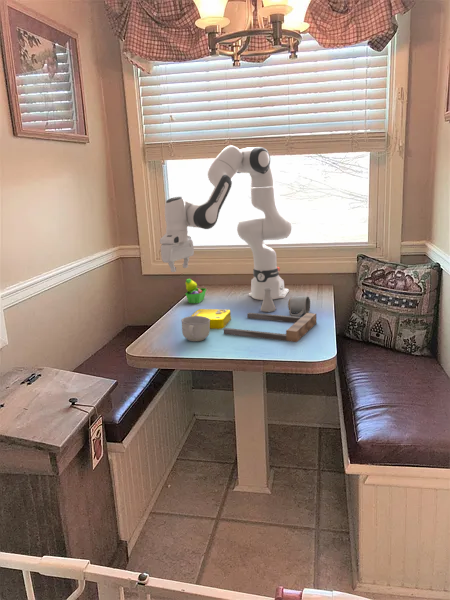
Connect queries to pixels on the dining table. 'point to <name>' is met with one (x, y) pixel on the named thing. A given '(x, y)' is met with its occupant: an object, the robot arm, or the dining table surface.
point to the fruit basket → (194, 292)
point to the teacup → (195, 328)
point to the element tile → (215, 317)
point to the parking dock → (291, 334)
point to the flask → (268, 302)
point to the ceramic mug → (299, 305)
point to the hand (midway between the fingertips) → (179, 269)
